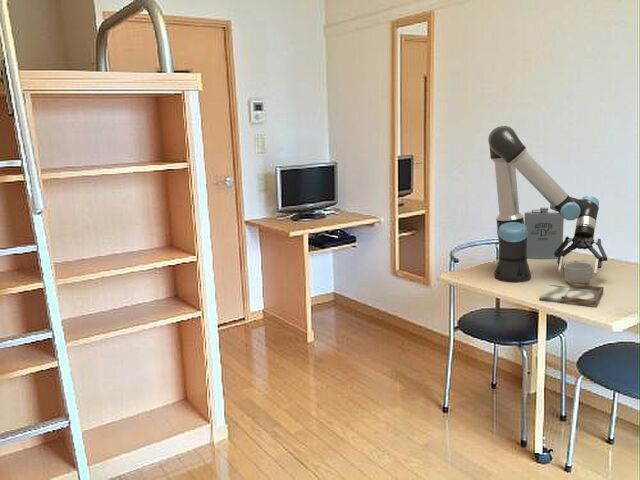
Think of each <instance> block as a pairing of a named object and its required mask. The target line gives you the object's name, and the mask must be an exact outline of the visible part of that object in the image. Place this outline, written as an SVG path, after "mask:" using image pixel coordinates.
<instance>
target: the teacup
mask: <svg viewBox="0 0 640 480" xmlns="http://www.w3.org/2000/svg"><path fill="white" fill-rule="evenodd" d="M593 267H594V266H593V264H592V263H590V262H587V261H579V260H575V261H569V262H566V263H563V271H564V272H563V273H564V275H563V276H564V279H565V281H566V282H567V283H569V285H570V284H581V285H588V283H590V282H591V280H593V279H592V278H593Z"/></svg>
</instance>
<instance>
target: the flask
mask: <svg viewBox="0 0 640 480" xmlns="http://www.w3.org/2000/svg"><path fill="white" fill-rule="evenodd" d="M564 220H565V219H564V218H563V217H562V216H561V214H560V213H559V212H558V211H555V210H553V211H549V207H548V206H542V207H540V208H537V209H531V211H525V212H524V225H526V227H527V231H528V235H527V260H558V257H555V254H554V252H555V251H556V250H557V249H558V248H559V246H560V245H561V244H562V243H563V242H564Z"/></svg>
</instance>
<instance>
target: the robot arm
mask: <svg viewBox="0 0 640 480" xmlns="http://www.w3.org/2000/svg"><path fill="white" fill-rule="evenodd" d="M487 139H488V145H489V157H490V160H491V161H492V162H493V163H494V169H495V170H494V171H495V180H496V181H495V182H496V192H497V203H498V213H499V215H498V216H497V217H496V229H497V230H496V235H497V239H498V261H497V264H496V267H495V270H494V279H496V280H497V281H501V282H507V283H521V282H527V281H530V279H532V273H531V269H530V266H529V262H528V259H527V235H528V231H527V227H526V225H524V221H525V218H524V214H522V213H520V203H519V193H518V190H519V189H518V181H517V180H518V179H517V171H518V172H519V173H520V174H521V175H522V176H523V177H524V178H525V179H526V181H528V182H529V183H530V185H532V186H533V187H534V188H535V190H536V191H538V193H539V194H540V195H541V196H542V197H544V199H545V200H546V201H547V202H548V203H549V209H550V210H551V211H558V212H559V213H560V214H561V216H562V217H563V218H564V220H565V221H574V220H576V224H575V230H574V234H573V235H574V236H573V237H572V238H571V237H569V236H565V238H564V240H563V243H562V244H561V245H560V246H559V248H558V249H557V250H556V251H555V252H554V254H555V257H558V259H557V262H556V263H557V265H558V273H562V270H563V267H564V257H566V256H567V255H568V254H570V253H571V252H573V251H575V250H576V249H578V250H588V251H590V252H591V254H592V255H593V256H594V257H595V258H596V260H595V265H594V271H593V274H594V276H595V277H597V276H598V270H599V269H601V268H602V263H603V262H607V261H608V255H607V253H606V251H605V249H604V247H603V246H602V240H601V238H597V239H594V237H595V232H596V231H595V230H596V226H597V225H596V224H597V218H598V215H599V210H600V201H599V199H598V198H597V197H596V196H593V195H590V196H588V195H585V196H583V197H581V199H580V198H576V197H573V196H570V195H569V194H568V192H566V191H565V190H564V189H563V188H562V187H561V186H560V185H559V183H558V182H556V181H555V179H553V178H552V176H551V175H549V173H548V172H547V171H546V170H545V169H544V168H543V167H542V166H541V165H540V164H539V163H538V161H536V160H535V159H534V157H532V156H531V155H530V154H529V152H527V146H526V145H524V143H523V142H522V141H521V140H520V139H519V136H518V135H517V133H516V132H515V130H514V129H513V128H512V127H510V126H507V125H500V126H497V127H495V128H494V129H492V130H491V132H490V133H489V136H488V138H487ZM571 242H572V243H571ZM570 243H571V244H570ZM569 244H570V245H569ZM594 244H595V246H597V247H598V251H599V252H600V254H601V255H600V254H599V252H598V251H597V250H596V248H594V246H593V245H594ZM568 245H569V246H568ZM567 246H568V247H567Z"/></svg>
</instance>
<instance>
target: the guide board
mask: <svg viewBox="0 0 640 480" xmlns="http://www.w3.org/2000/svg"><path fill="white" fill-rule="evenodd" d="M603 294H604V286H598V285H590V284H585V285H581V284H570V283H569V286H566V285H556V284H548V286H547V287H546V288H545V289H544V291H543V292H542V293H541V295H540V296H539V298H538V301H542V302H547V303H548V302H549V303H556V302H557V304H564V303H565V305H573V306H574V305H575V306H582V307H587V308H588V307H590V308H597V307H598V304H599V303H600V300H601V299H602V296H603Z"/></svg>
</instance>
